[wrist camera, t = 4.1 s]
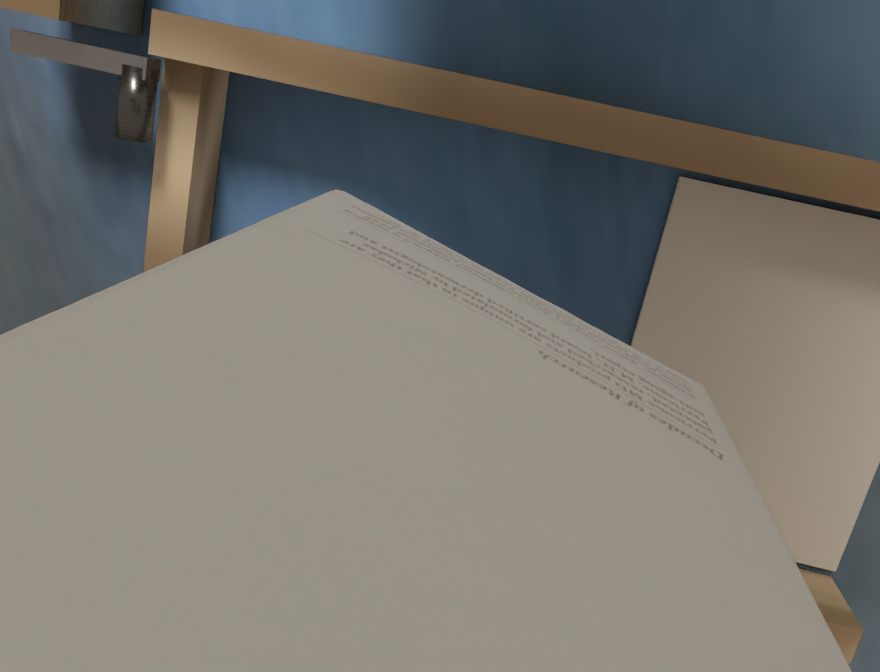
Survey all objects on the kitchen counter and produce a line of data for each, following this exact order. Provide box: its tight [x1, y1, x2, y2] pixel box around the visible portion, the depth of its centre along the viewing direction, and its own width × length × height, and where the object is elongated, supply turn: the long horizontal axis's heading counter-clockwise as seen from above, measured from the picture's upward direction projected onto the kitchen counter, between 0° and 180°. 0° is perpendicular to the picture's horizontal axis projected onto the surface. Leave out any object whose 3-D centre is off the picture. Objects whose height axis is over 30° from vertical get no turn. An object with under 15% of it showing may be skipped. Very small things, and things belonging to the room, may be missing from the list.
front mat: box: [631, 176, 880, 572], centre depth 25 cm, size 11×8×1 cm
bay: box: [143, 9, 880, 664], centre depth 25 cm, size 14×24×3 cm, turn 78°
